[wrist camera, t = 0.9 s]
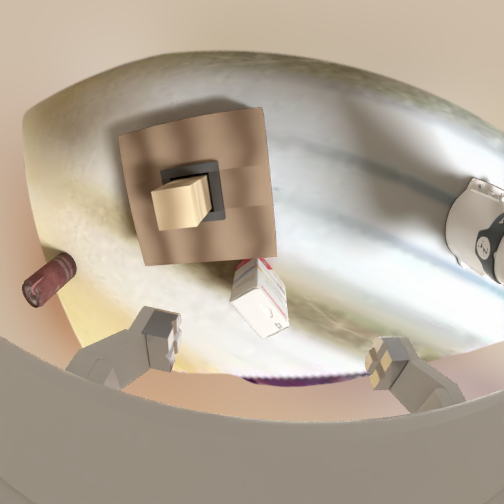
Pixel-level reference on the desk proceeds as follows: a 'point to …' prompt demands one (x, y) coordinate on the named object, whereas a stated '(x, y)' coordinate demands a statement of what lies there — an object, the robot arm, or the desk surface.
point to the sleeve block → (221, 182)
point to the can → (49, 280)
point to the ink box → (260, 297)
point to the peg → (182, 202)
